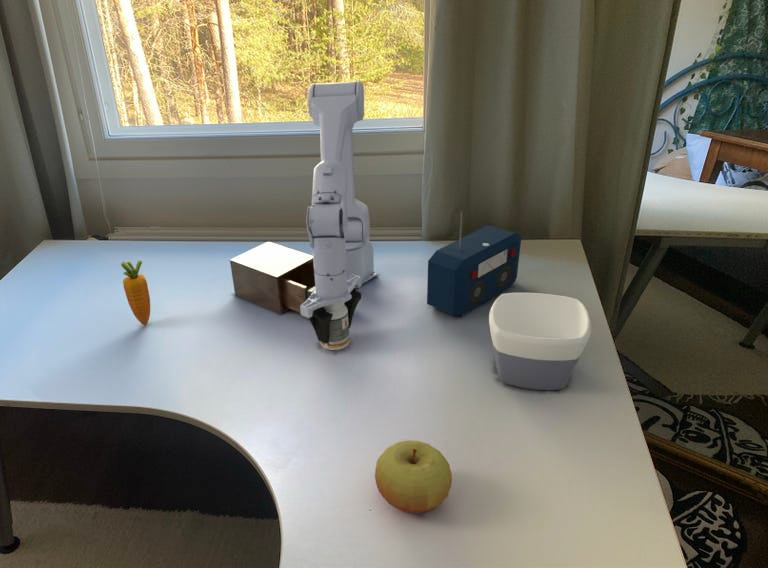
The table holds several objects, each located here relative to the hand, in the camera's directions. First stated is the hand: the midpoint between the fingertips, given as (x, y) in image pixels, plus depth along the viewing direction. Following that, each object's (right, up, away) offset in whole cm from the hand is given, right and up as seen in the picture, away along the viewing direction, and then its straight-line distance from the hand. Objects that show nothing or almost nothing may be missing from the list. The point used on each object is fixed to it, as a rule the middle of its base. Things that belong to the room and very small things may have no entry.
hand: (334, 334), depth 117 cm
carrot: (-39, +2, +14) cm, 41 cm away
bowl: (+33, -6, -11) cm, 35 cm away
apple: (+8, -22, -32) cm, 40 cm away
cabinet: (-11, +9, +21) cm, 25 cm away
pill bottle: (0, -2, +1) cm, 2 cm away
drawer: (-3, +6, +13) cm, 15 cm away
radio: (+30, +7, +12) cm, 33 cm away
